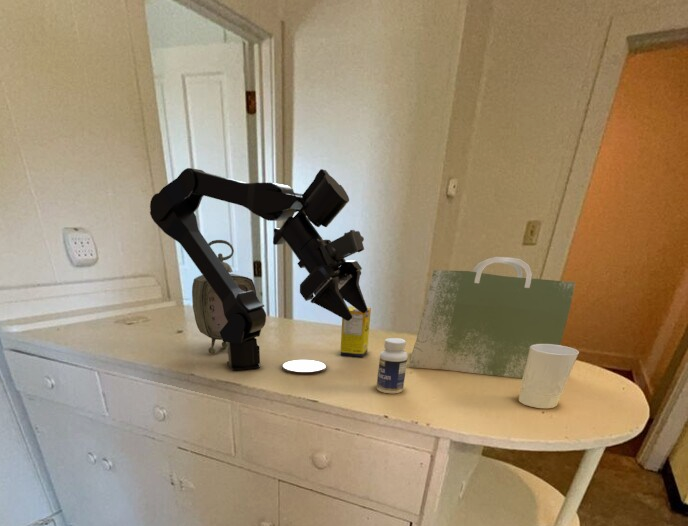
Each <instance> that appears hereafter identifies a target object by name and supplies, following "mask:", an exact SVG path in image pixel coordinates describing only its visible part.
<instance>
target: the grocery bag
mask: <svg viewBox="0 0 688 526" xmlns="http://www.w3.org/2000/svg"><path fill="white" fill-rule="evenodd" d="M500 263H501V264H504V265H509V266H511V267H512V268H514V269H515V270H516V273H517V276H508V275H507V276H506V275H497V274H490V273H484V272H483V271H484V269H485V268H486V267H487V266H489V265H492V264H500ZM522 268H523V270H524V272H525V274H526V276H525V277H523V275H524V274H523V270H522ZM532 277H533V273H532V269H531V267H530V264H528V263H527V262H526V261H524V260H523V259H521V258H518V257H507V256H493V257H489V258H487V259H484V260H482V261H479V263H477V265H476V266H475V267H474V268H473V270H472V271H471V270H443V269H433V271H432V276H431V279H430V283H429V288H428V292H427V296H426V300H425V304H424V308H423V312H422V315H421V320H420V323H419V327H418V332H417V335H416V340H415V343H414V345H413V349H412V352H411V360H410V363H409V368H412V369H413V368H414V369H430V370H444V371H453V372H463V373H469V374H470V373H471V374H479V375H489V376H499V377H505V378H513V379H514V378H515V379H517V378H518V379H523V374H524V370H525V366H526V362H527V357H528V353H529V349H530V346H531V345H535V344H554V345H561V344H562V341H563V337H564V333H565V329H566V326H567V321H568V318H569V315H570V310H571V305H572V300H573V296H574V290H575V286H576V281H565V280H553V279H544V278H543V279H542V278H541V279H540V278H532Z"/></svg>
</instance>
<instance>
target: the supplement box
mask: <svg viewBox="0 0 688 526" xmlns="http://www.w3.org/2000/svg"><path fill="white" fill-rule="evenodd" d="M347 307H348V309H349V311H350V313H351V315H352V319H351V320H349V321H347V320H345V319H343V318H341V335H340V356H347V357H348V356H349V357H359V358H364V356H365V355H366V354H367V353H368V349H369V336H370V325H371V324H370V322H371V311H372V309H371V308H372V307H367V309H368V310H367V311H366V312H365V313H362V312H360V311H359V310H357V309H356V308H355V307H353V306H347Z"/></svg>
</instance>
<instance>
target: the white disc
mask: <svg viewBox="0 0 688 526" xmlns="http://www.w3.org/2000/svg"><path fill="white" fill-rule="evenodd" d="M326 367H327V366H326V364H325V363H323V362H321V361H317V360H311V359H296V360H290V361H287V362H284V363H283V364H282V370H283V371H284V372H286V373H290V374H294V375H304V376H305V375H315V374H320V373H323V372H324V371H325V370H326V369H327V368H326Z"/></svg>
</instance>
